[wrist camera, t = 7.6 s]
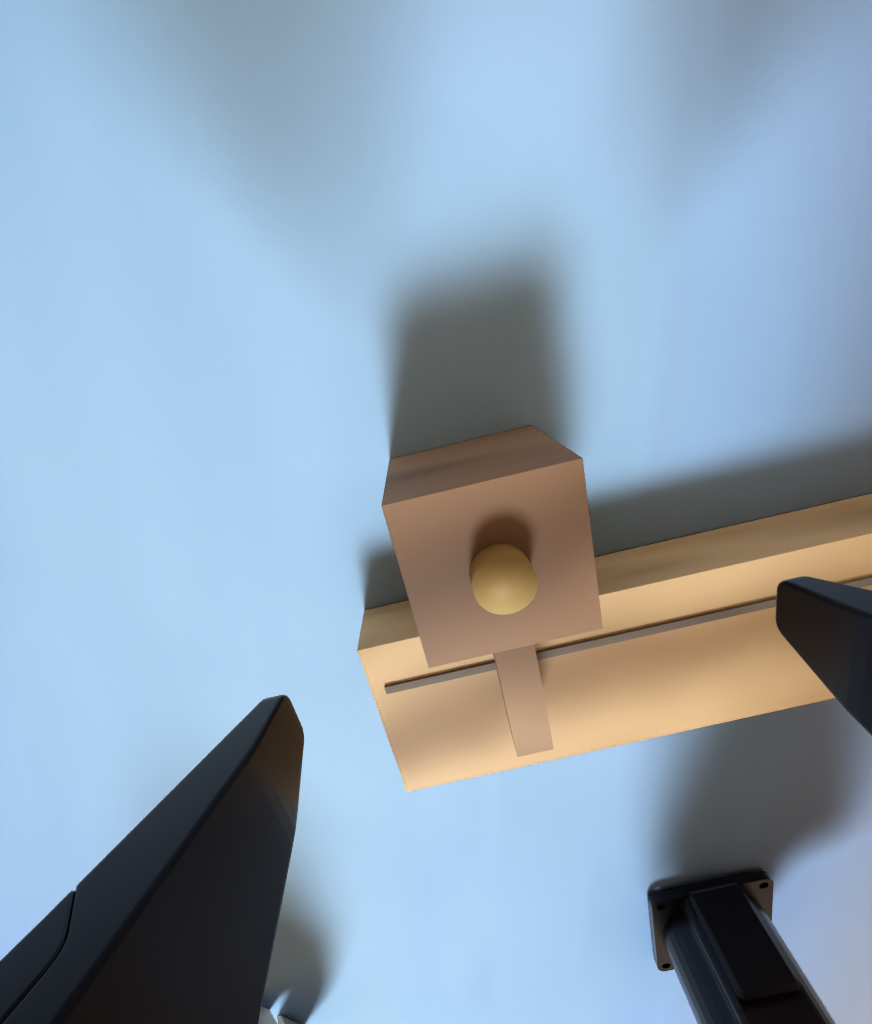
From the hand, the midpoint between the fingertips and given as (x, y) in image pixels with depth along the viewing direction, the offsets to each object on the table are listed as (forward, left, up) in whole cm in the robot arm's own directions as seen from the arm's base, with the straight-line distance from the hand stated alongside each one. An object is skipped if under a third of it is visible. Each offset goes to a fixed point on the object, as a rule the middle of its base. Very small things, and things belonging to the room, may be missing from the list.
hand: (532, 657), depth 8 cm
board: (-7, -7, -9) cm, 13 cm away
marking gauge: (-3, 0, -9) cm, 9 cm away
